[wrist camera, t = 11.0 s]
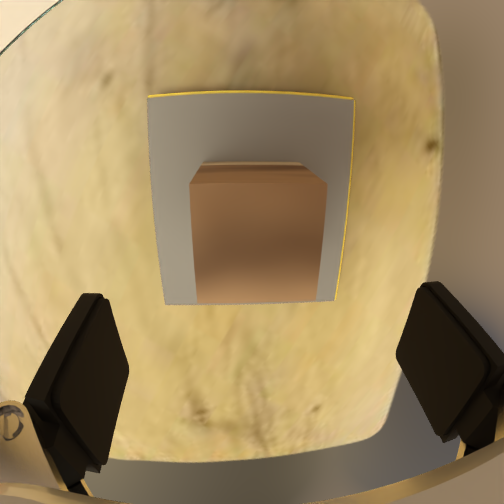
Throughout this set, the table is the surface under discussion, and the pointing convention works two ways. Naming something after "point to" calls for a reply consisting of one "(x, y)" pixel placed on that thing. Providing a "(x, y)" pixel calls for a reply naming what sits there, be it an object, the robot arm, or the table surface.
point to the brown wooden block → (256, 231)
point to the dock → (245, 149)
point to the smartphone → (20, 18)
